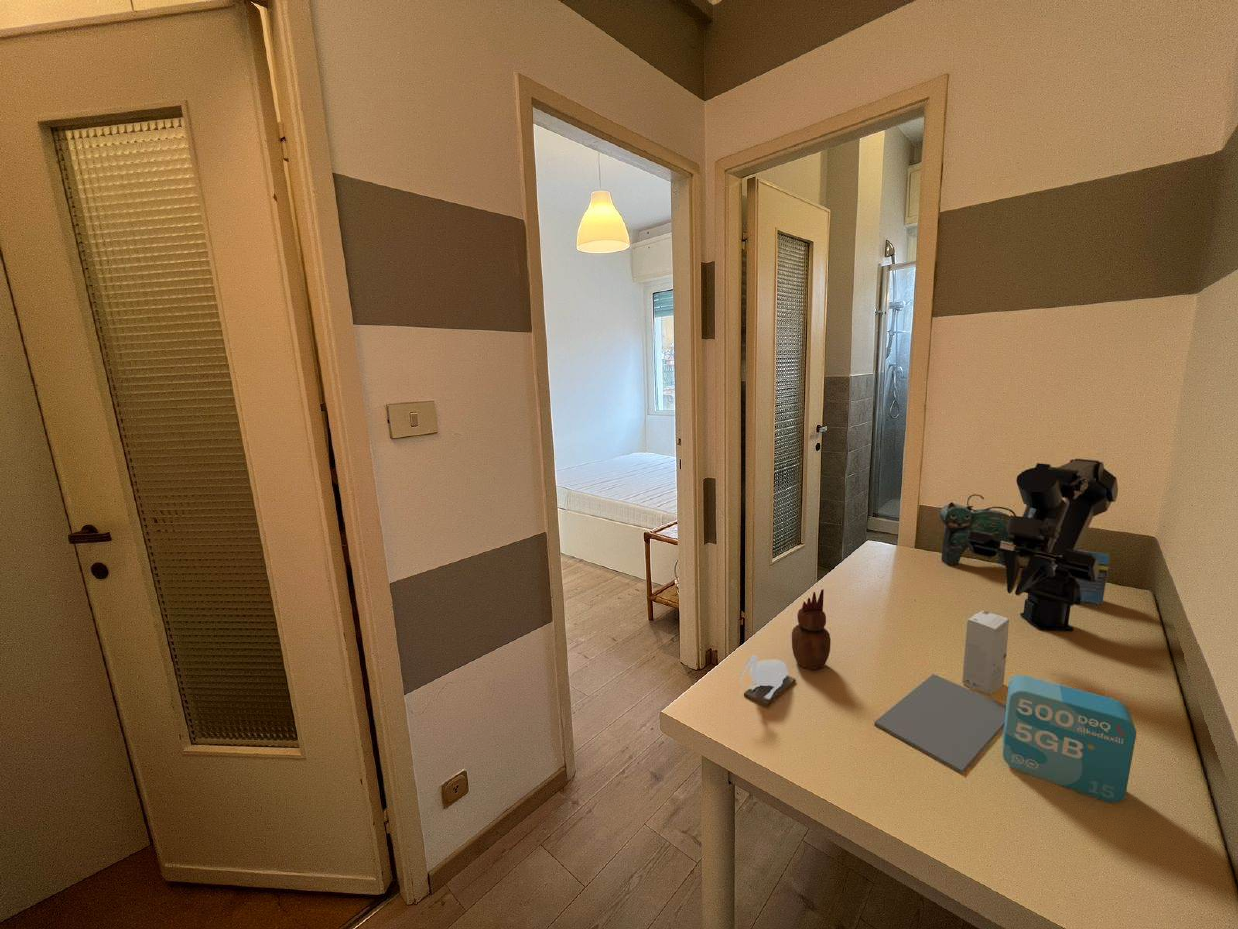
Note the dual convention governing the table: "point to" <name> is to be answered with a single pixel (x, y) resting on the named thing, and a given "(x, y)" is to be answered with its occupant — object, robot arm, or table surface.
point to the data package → (1069, 737)
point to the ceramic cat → (969, 528)
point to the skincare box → (985, 652)
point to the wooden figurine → (811, 634)
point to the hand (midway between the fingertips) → (1012, 593)
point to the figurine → (767, 680)
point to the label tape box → (1095, 590)
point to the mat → (945, 721)
